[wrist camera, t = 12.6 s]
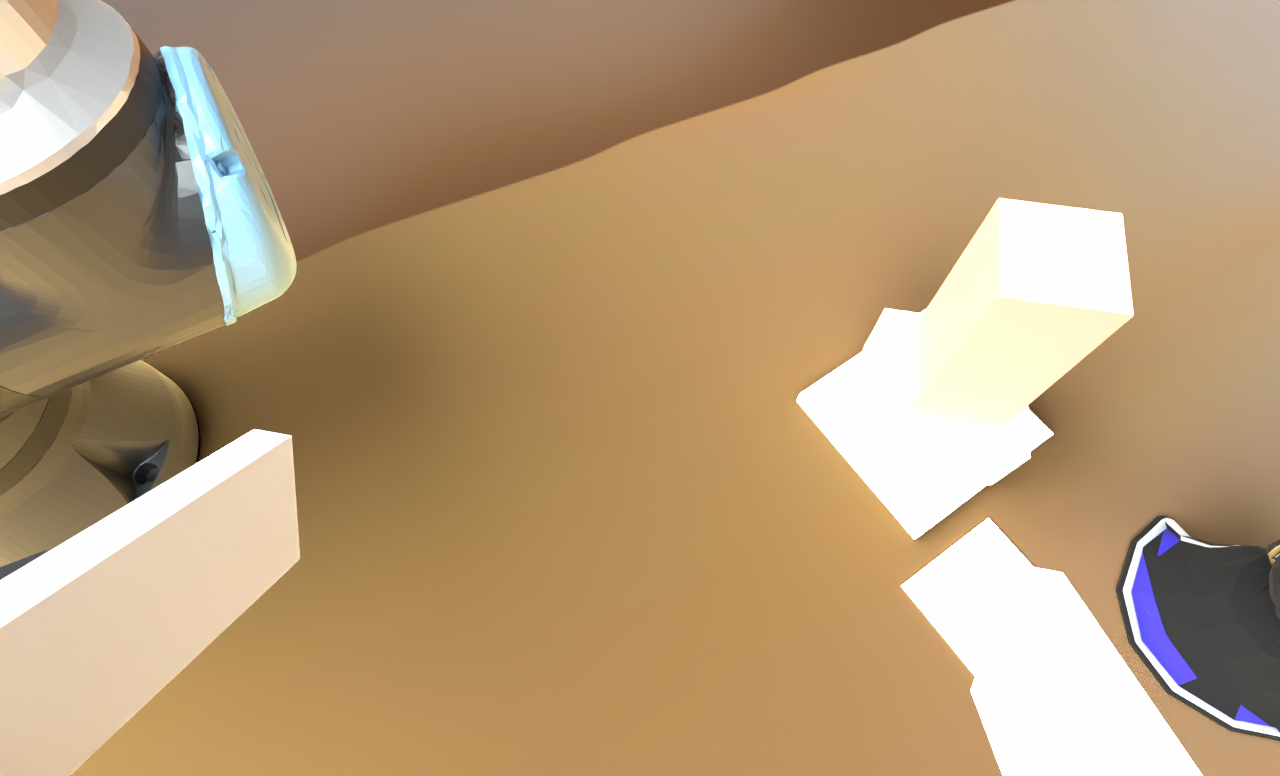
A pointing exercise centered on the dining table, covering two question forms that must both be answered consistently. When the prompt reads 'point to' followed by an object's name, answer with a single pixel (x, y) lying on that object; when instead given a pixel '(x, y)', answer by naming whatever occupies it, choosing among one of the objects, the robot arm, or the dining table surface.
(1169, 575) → the figurine
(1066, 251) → the tall brick
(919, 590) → the page
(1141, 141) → the dining table surface
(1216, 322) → the dining table surface
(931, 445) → the base brick
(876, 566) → the dining table surface
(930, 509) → the plate
